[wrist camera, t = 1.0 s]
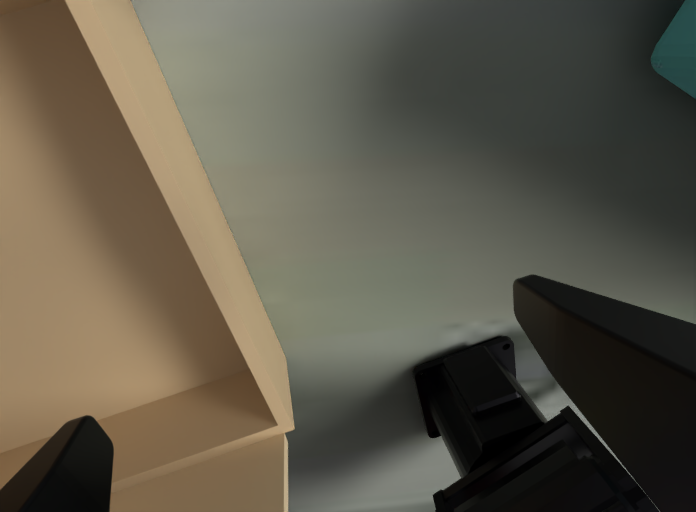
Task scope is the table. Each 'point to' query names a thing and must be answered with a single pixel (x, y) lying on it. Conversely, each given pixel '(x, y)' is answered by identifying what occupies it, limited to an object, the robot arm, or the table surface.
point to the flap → (217, 484)
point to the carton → (118, 257)
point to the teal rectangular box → (678, 50)
